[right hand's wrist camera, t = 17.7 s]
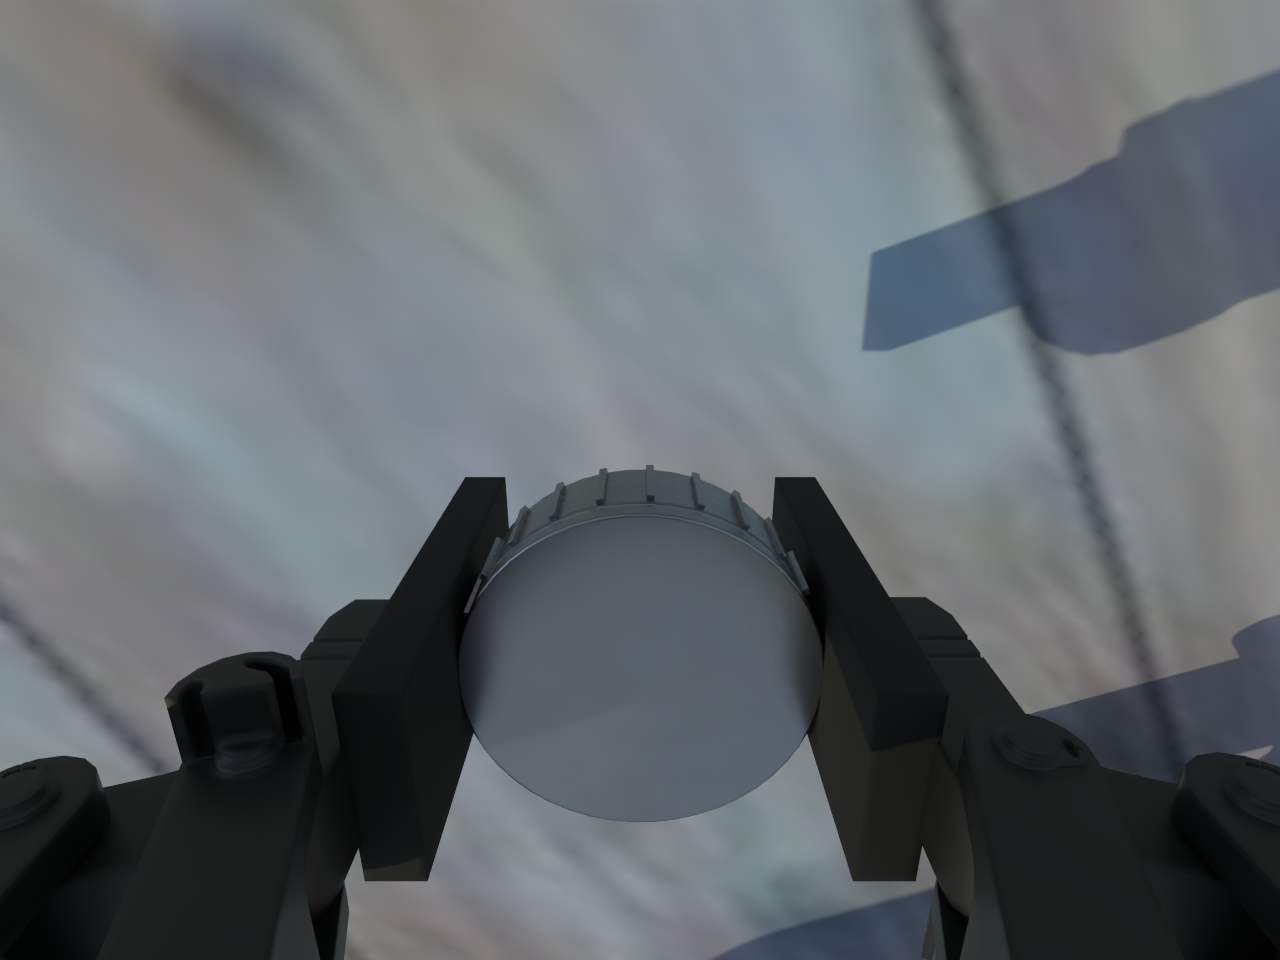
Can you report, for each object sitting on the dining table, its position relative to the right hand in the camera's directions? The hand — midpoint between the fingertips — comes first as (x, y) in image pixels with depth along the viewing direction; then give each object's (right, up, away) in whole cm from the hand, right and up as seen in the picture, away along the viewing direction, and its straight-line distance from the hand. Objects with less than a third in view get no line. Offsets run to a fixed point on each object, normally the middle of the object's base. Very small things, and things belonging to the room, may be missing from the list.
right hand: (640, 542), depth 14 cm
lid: (0, -1, -4) cm, 4 cm away
